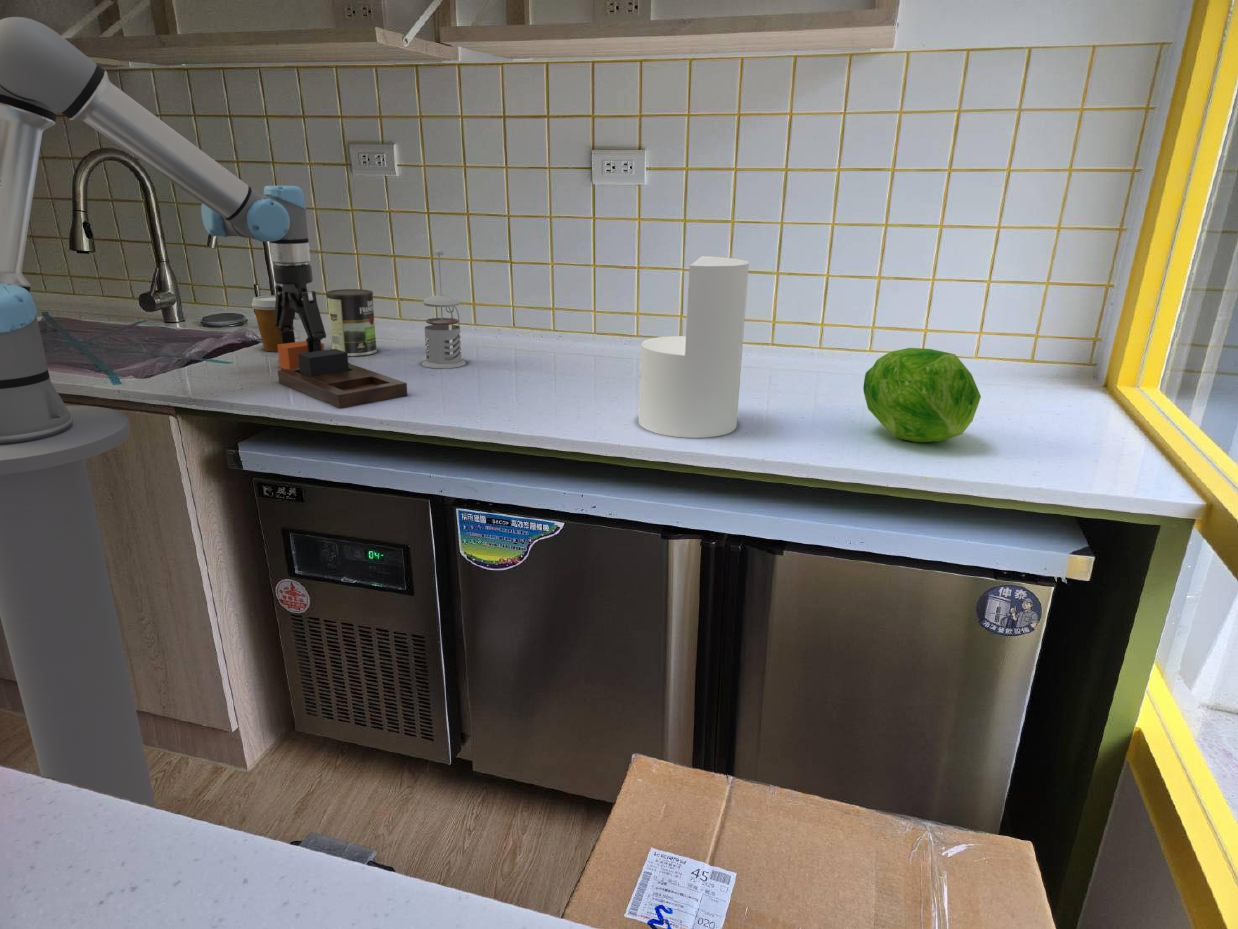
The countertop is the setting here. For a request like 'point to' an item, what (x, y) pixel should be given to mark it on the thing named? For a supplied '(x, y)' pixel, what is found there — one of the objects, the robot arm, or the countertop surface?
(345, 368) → the black rectangular block
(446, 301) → the french press
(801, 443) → the countertop surface
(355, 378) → the brown wooden slotted tray
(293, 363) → the orange block
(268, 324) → the disposable coffee cup
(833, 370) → the countertop surface
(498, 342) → the countertop surface
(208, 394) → the countertop surface
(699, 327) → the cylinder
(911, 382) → the lettuce
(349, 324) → the coffee can
